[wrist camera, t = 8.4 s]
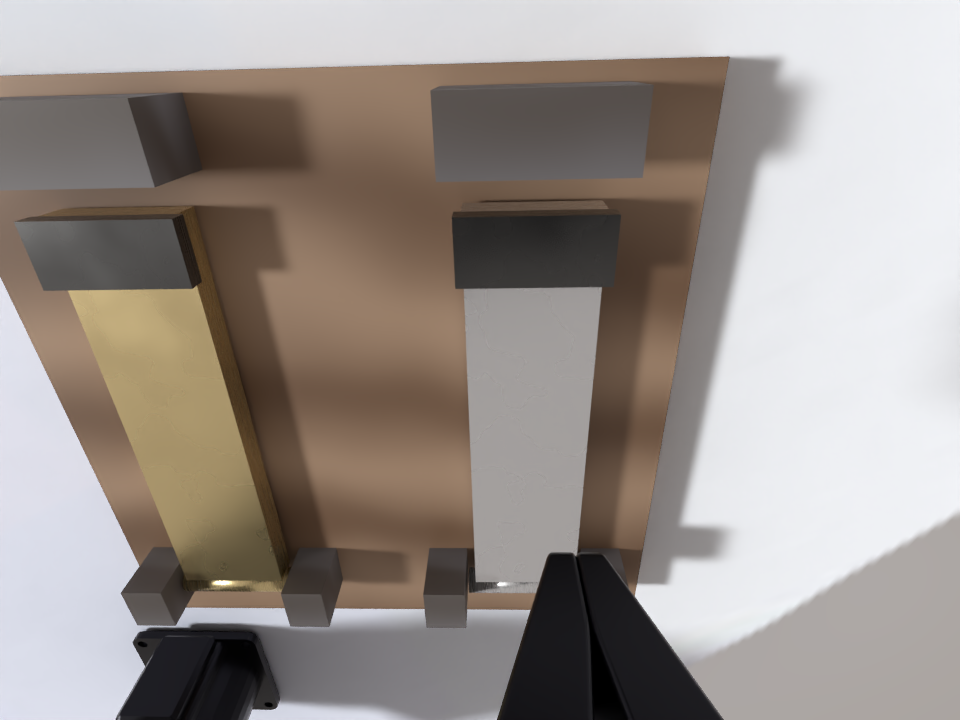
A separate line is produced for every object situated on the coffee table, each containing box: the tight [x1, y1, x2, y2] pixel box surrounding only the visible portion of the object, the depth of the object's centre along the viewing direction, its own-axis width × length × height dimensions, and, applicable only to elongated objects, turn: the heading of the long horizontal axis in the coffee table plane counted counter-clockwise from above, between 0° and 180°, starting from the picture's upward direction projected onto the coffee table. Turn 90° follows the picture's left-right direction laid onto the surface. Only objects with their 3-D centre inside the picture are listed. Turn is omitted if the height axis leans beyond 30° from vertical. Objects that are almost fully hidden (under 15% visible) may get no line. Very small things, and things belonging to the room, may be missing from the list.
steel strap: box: [452, 200, 621, 593], centre depth 19 cm, size 16×5×2 cm, turn 2°
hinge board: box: [0, 57, 729, 628], centre depth 19 cm, size 22×22×4 cm
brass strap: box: [14, 206, 291, 592], centre depth 19 cm, size 16×5×2 cm, turn 2°
